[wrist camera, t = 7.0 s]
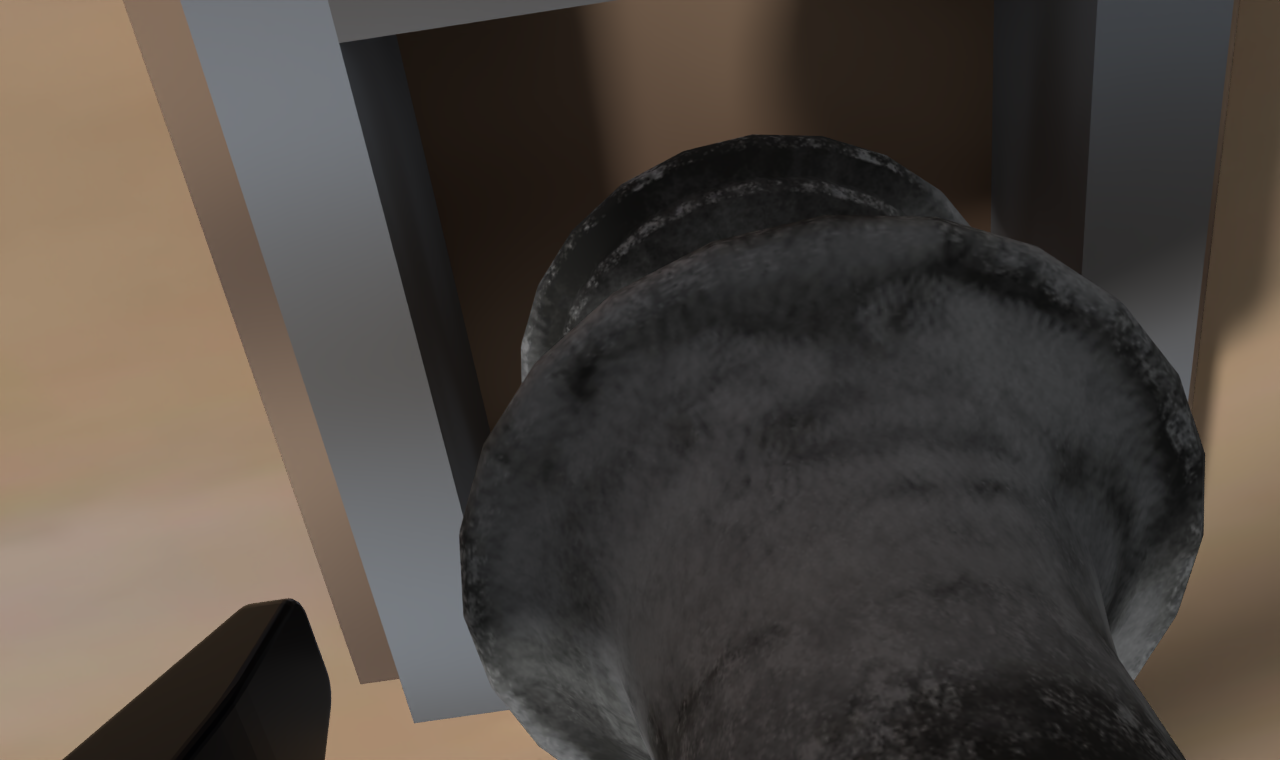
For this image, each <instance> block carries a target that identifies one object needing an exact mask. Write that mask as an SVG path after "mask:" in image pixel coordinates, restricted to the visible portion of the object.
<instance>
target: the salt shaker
mask: <svg viewBox="0 0 1280 760" xmlns="http://www.w3.org/2000/svg"><path fill="white" fill-rule="evenodd" d="M521 377H522V384H521V386H520V387H519V389H518V390H517V392H516V394H515V395H514V397H513V398H512V400H511V401H510V403H509V405H508V406H507V408H506V409H505V411H504V412H503V414H502V416H501V417H500V419H499V420H498V422H497V423H496V425H495V427H494V428H493V430H492V431H491V433H490V434H489V436H488V438H487V439H486V441H485V442H484V444H483V447H482V451H481V455H480V458H479V462H478V466H477V469H476V473H475V477H474V480H473V484H472V487H471V491H470V495H469V498H468V502H467V506H466V509H465V513H464V517H463V520H462V524H461V528H460V533H459V544H460V563H461V582H462V601H463V617H464V619H465V622H466V624H467V627H468V629H469V632H470V634H471V637H472V639H473V642H474V644H475V647H476V650H477V652H478V655H479V657H480V660H481V662H482V665H483V667H484V670H485V672H486V675H487V677H488V680H489V683H490V685H491V687H492V689H493V690H494V691H495V692H496V694H497V695H498V696H499V697H500V699H501V700H502V701H503V702H504V704H505V705H506V706H507V707H508V708H509V710H510V711H511V712H512V713H513V715H514V716H515V717H516V718H517V720H518V721H519V722H520V723H521V725H522V726H523V727H524V728H525V730H526V731H527V732H528V733H529V735H530V736H531V737H532V738H533V739H534V741H535V742H536V743H537V744H538V746H539V747H541V748H542V749H544V750H545V751H546V752H548V753H549V754H551V755H552V756H553V757H555V758H556V759H558V760H1186V759H1185V758H1184V756H1183V755H1182V753H1181V752H1180V750H1179V749H1178V747H1177V746H1176V744H1175V743H1174V741H1173V740H1172V738H1171V737H1170V735H1169V734H1168V732H1167V731H1166V729H1165V727H1164V726H1163V724H1162V723H1161V721H1160V720H1159V718H1158V717H1157V715H1156V714H1155V712H1154V711H1153V709H1152V708H1151V706H1150V705H1149V703H1148V702H1147V700H1146V699H1145V697H1144V696H1143V694H1142V693H1141V691H1140V690H1139V688H1138V687H1137V685H1136V684H1135V682H1134V679H1135V678H1136V676H1137V675H1138V673H1139V672H1140V670H1141V669H1142V667H1143V666H1144V664H1145V663H1146V661H1147V660H1148V658H1149V657H1150V655H1151V654H1152V652H1153V651H1154V649H1155V648H1156V646H1157V644H1158V643H1159V641H1160V640H1161V638H1162V637H1163V635H1164V634H1165V632H1166V631H1167V629H1168V628H1169V626H1170V625H1171V623H1172V622H1173V620H1174V619H1175V617H1176V615H1177V613H1178V610H1179V607H1180V604H1181V601H1182V598H1183V595H1184V592H1185V589H1186V586H1187V583H1188V580H1189V577H1190V574H1191V571H1192V568H1193V565H1194V562H1195V559H1196V556H1197V553H1198V550H1199V547H1200V544H1201V541H1202V538H1203V532H1204V477H1205V452H1204V449H1203V446H1202V443H1201V440H1200V437H1199V434H1198V431H1197V428H1196V425H1195V422H1194V419H1193V416H1192V413H1191V410H1190V407H1189V404H1188V401H1187V398H1186V395H1185V391H1184V388H1183V385H1182V382H1181V379H1180V376H1179V374H1178V373H1177V372H1176V370H1175V369H1174V368H1173V366H1172V365H1171V364H1170V363H1169V361H1168V360H1167V359H1166V357H1165V356H1164V355H1163V354H1162V352H1161V351H1160V350H1159V348H1158V347H1157V346H1156V345H1155V343H1154V342H1153V341H1152V339H1151V338H1150V337H1149V336H1148V334H1147V333H1146V332H1145V330H1144V329H1143V328H1142V327H1141V325H1140V324H1139V323H1138V321H1137V320H1136V319H1135V318H1134V316H1133V315H1132V314H1131V312H1130V311H1129V310H1128V309H1127V307H1126V306H1125V305H1124V304H1123V303H1122V302H1121V301H1119V300H1118V299H1117V298H1115V297H1114V296H1112V295H1111V294H1109V293H1108V292H1106V291H1105V290H1103V289H1102V288H1100V287H1099V286H1097V285H1095V284H1094V283H1092V282H1091V281H1089V280H1088V279H1086V278H1085V277H1083V276H1082V275H1080V274H1079V273H1077V272H1076V271H1074V270H1073V269H1071V268H1070V267H1068V266H1067V265H1065V264H1064V263H1062V262H1060V261H1059V260H1057V259H1056V258H1054V257H1053V256H1051V255H1050V254H1048V253H1047V252H1045V251H1044V250H1042V249H1041V248H1039V247H1038V246H1034V245H1031V244H1028V243H1024V242H1021V241H1017V240H1014V239H1011V238H1007V237H1004V236H1000V235H997V234H993V233H990V232H987V231H983V230H980V229H976V228H973V227H971V226H970V225H969V224H968V223H967V221H966V220H965V219H964V218H963V217H962V215H961V214H960V213H959V212H958V210H957V209H956V208H955V207H954V206H953V204H952V203H951V202H950V201H949V200H948V198H947V197H946V196H945V195H944V194H943V193H942V192H941V191H940V190H939V189H937V188H936V187H934V186H933V185H931V184H930V183H928V182H927V181H925V180H923V179H922V178H920V177H919V176H917V175H916V174H914V173H913V172H911V171H910V170H908V169H907V168H905V167H904V166H902V165H901V164H899V163H898V162H896V161H894V160H893V159H891V158H890V157H888V156H887V155H884V154H880V153H877V152H874V151H871V150H867V149H864V148H861V147H857V146H854V145H851V144H847V143H844V142H841V141H837V140H834V139H831V138H827V137H824V136H804V135H758V134H752V135H748V136H743V137H739V138H735V139H731V140H727V141H723V142H719V143H714V144H710V145H706V146H702V147H698V148H694V149H690V150H686V151H682V152H681V153H679V154H677V155H675V156H673V157H671V158H669V159H668V160H666V161H664V162H662V163H660V164H658V165H656V166H654V167H653V168H651V169H649V170H647V171H645V172H643V173H641V174H640V175H638V176H636V177H634V178H632V179H630V180H628V181H627V182H625V183H623V184H621V185H620V186H619V187H618V188H617V189H616V190H615V191H614V192H613V193H611V194H610V195H609V196H608V197H607V198H606V199H605V200H604V201H603V202H602V203H601V204H600V205H599V206H598V207H596V208H595V209H594V210H593V211H592V212H591V213H590V214H589V215H588V216H587V217H586V218H585V219H584V220H583V221H581V222H580V223H579V224H578V225H577V226H576V227H575V228H574V229H573V230H572V231H571V233H570V234H569V236H568V237H567V239H566V241H565V242H564V244H563V246H562V247H561V249H560V250H559V252H558V254H557V255H556V257H555V259H554V260H553V262H552V263H551V265H550V267H549V268H548V270H547V272H546V273H545V275H544V276H543V278H542V280H541V281H540V283H539V285H538V287H537V291H536V294H535V298H534V301H533V305H532V308H531V312H530V316H529V319H528V323H527V326H526V330H525V334H524V337H523V341H522V345H521Z"/></svg>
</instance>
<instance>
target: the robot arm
mask: <svg viewBox="0 0 1280 760" xmlns="http://www.w3.org/2000/svg"><path fill="white" fill-rule="evenodd" d="M330 710H331V687H330V681H329V676H328V673H327V670H326V667H325V664H324V662H323V659H322V656H321V653H320V651H319V648H318V645H317V642H316V640H315V637H314V634H313V631H312V629H311V626H310V623H309V620H308V618H307V615H306V613H305V610H304V609H303V607H302V606H301V604H300V603H299V602H297V601H295V600H293V599H289V598H288V599H281V600H274V601H267V602H260V603H253V604H248V605H246V606H244V607H242V608H241V609H239V610H238V611H237V612H236V613H235V614H233V615H232V616H231V617H230V618H229V619H227V620H226V621H225V622H224V623H223V624H222V625H220V626H219V627H218V628H217V629H216V630H215V631H213V632H212V633H211V634H210V635H209V636H207V637H206V638H205V639H204V640H203V641H202V642H200V643H199V644H198V645H197V646H196V647H195V648H193V649H192V650H191V651H190V652H189V653H187V654H186V655H185V656H184V657H183V658H182V659H180V660H179V661H178V662H177V663H176V664H174V665H173V666H172V667H171V668H170V669H169V670H167V671H166V672H165V673H164V674H163V675H162V676H160V677H159V678H158V679H157V680H156V681H154V682H153V683H152V684H151V685H150V686H149V687H147V688H146V689H145V690H144V691H143V692H142V693H140V694H139V695H138V696H137V697H136V698H134V699H133V700H132V701H131V702H130V703H129V704H127V705H126V706H125V707H124V708H123V709H122V710H120V711H119V712H118V713H117V714H116V715H114V716H113V717H112V718H111V719H110V720H109V721H107V722H106V723H105V724H104V725H103V726H102V727H100V728H99V729H98V730H97V731H96V732H94V733H93V734H92V735H91V736H90V737H89V738H87V739H86V740H85V741H84V742H83V743H81V744H80V745H79V746H78V747H77V748H76V749H74V750H73V751H72V752H71V753H70V754H69V755H67V756H66V757H65V758H64V759H63V760H325V754H326V745H327V736H328V727H329V718H330Z"/></svg>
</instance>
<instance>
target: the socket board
mask: <svg viewBox="0 0 1280 760" xmlns="http://www.w3.org/2000/svg"><path fill="white" fill-rule="evenodd" d="M123 2H124V5H125V8H126V11H127V14H128V16H129V19H130V22H131V25H132V28H133V31H134V34H135V37H136V39H137V42H138V45H139V48H140V51H141V54H142V57H143V60H144V63H145V65H146V68H147V71H148V74H149V77H150V80H151V83H152V86H153V88H154V91H155V94H156V97H157V100H158V103H159V106H160V109H161V111H162V114H163V117H164V120H165V123H166V126H167V129H168V132H169V134H170V137H171V140H172V143H173V146H174V149H175V152H176V155H177V157H178V160H179V163H180V166H181V169H182V172H183V175H184V178H185V180H186V183H187V186H188V189H189V192H190V195H191V198H192V201H193V203H194V206H195V209H196V212H197V215H198V218H199V221H200V224H201V227H202V229H203V232H204V235H205V238H206V241H207V244H208V247H209V250H210V252H211V255H212V258H213V261H214V264H215V267H216V270H217V273H218V275H219V278H220V281H221V284H222V287H223V290H224V293H225V296H226V298H227V301H228V304H229V307H230V310H231V313H232V316H233V319H234V321H235V324H236V327H237V330H238V333H239V336H240V339H241V342H242V344H243V347H244V350H245V353H246V356H247V359H248V362H249V365H250V367H251V370H252V373H253V376H254V379H255V382H256V385H257V388H258V390H259V393H260V396H261V399H262V402H263V405H264V408H265V411H266V414H267V416H268V419H269V422H270V425H271V428H272V431H273V434H274V437H275V439H276V442H277V445H278V448H279V451H280V454H281V457H282V460H283V462H284V465H285V468H286V471H287V474H288V477H289V480H290V483H291V485H292V488H293V491H294V494H295V497H296V500H297V503H298V506H299V508H300V511H301V514H302V517H303V520H304V523H305V526H306V529H307V531H308V534H309V537H310V540H311V543H312V546H313V549H314V552H315V554H316V557H317V560H318V563H319V566H320V569H321V572H322V575H323V578H324V580H325V583H326V586H327V589H328V592H329V595H330V598H331V601H332V603H333V606H334V609H335V612H336V615H337V618H338V621H339V624H340V626H341V629H342V632H343V635H344V638H345V641H346V644H347V647H348V649H349V652H350V655H351V658H352V661H353V664H354V667H355V670H356V672H357V675H358V678H359V681H360V684H365V683H373V682H380V681H387V680H394V679H400V681H401V684H402V687H403V690H404V693H405V696H406V699H407V703H408V706H409V709H410V712H411V715H412V718H413V721H414V723H419V722H426V721H433V720H440V719H447V718H454V717H461V716H468V715H476V714H483V713H490V712H497V711H504V710H509V708H508V707H507V706H506V705H505V704H504V702H503V701H502V700H501V699H500V697H499V696H498V695H497V694H496V692H495V691H494V690H493V689H492V687H491V685H490V683H489V680H488V677H487V675H486V672H485V670H484V667H483V665H482V662H481V660H480V657H479V655H478V652H477V650H476V647H475V644H474V642H473V639H472V637H471V634H470V632H469V629H468V627H467V624H466V622H465V619H464V617H463V601H462V582H461V563H460V544H459V533H460V528H461V524H462V520H463V517H464V513H465V509H466V506H467V502H468V498H469V495H470V491H471V487H472V484H473V480H474V477H475V473H476V469H477V466H478V462H479V458H480V455H481V451H482V447H483V444H484V442H485V441H486V439H487V438H488V436H489V434H490V433H491V431H492V430H493V428H494V427H495V425H496V423H497V422H498V420H499V419H500V417H501V416H502V414H503V412H504V411H505V409H506V408H507V406H508V405H509V403H510V401H511V400H512V398H513V397H514V395H515V394H516V392H517V390H518V389H519V387H520V386H521V384H522V377H521V345H522V341H523V337H524V334H525V330H526V326H527V323H528V319H529V316H530V312H531V308H532V305H533V301H534V298H535V294H536V291H537V287H538V285H539V283H540V281H541V280H542V278H543V276H544V275H545V273H546V272H547V270H548V268H549V267H550V265H551V263H552V262H553V260H554V259H555V257H556V255H557V254H558V252H559V250H560V249H561V247H562V246H563V244H564V242H565V241H566V239H567V237H568V236H569V234H570V233H571V231H572V230H573V229H574V228H575V227H576V226H577V225H578V224H579V223H580V222H581V221H583V220H584V219H585V218H586V217H587V216H588V215H589V214H590V213H591V212H592V211H593V210H594V209H595V208H596V207H598V206H599V205H600V204H601V203H602V202H603V201H604V200H605V199H606V198H607V197H608V196H609V195H610V194H611V193H613V192H614V191H615V190H616V189H617V188H618V187H619V186H620V185H621V184H623V183H625V182H627V181H628V180H630V179H632V178H634V177H636V176H638V175H640V174H641V173H643V172H645V171H647V170H649V169H651V168H653V167H654V166H656V165H658V164H660V163H662V162H664V161H666V160H668V159H669V158H671V157H673V156H675V155H677V154H679V153H681V152H682V151H686V150H690V149H694V148H698V147H702V146H706V145H710V144H714V143H719V142H723V141H727V140H731V139H735V138H739V137H743V136H748V135H752V134H758V135H804V136H824V137H827V138H831V139H834V140H837V141H841V142H844V143H847V144H851V145H854V146H857V147H861V148H864V149H867V150H871V151H874V152H877V153H880V154H884V155H887V156H888V157H890V158H891V159H893V160H894V161H896V162H898V163H899V164H901V165H902V166H904V167H905V168H907V169H908V170H910V171H911V172H913V173H914V174H916V175H917V176H919V177H920V178H922V179H923V180H925V181H927V182H928V183H930V184H931V185H933V186H934V187H936V188H937V189H939V190H940V191H941V192H942V193H943V194H944V195H945V196H946V197H947V198H948V200H949V201H950V202H951V203H952V204H953V206H954V207H955V208H956V209H957V210H958V212H959V213H960V214H961V215H962V217H963V218H964V219H965V220H966V221H967V223H968V224H969V225H970V226H971V227H973V228H976V229H980V230H983V231H987V232H990V233H993V234H997V235H1000V236H1004V237H1007V238H1011V239H1014V240H1017V241H1021V242H1024V243H1028V244H1031V245H1034V246H1038V247H1039V248H1041V249H1042V250H1044V251H1045V252H1047V253H1048V254H1050V255H1051V256H1053V257H1054V258H1056V259H1057V260H1059V261H1060V262H1062V263H1064V264H1065V265H1067V266H1068V267H1070V268H1071V269H1073V270H1074V271H1076V272H1077V273H1079V274H1080V275H1082V276H1083V277H1085V278H1086V279H1088V280H1089V281H1091V282H1092V283H1094V284H1095V285H1097V286H1099V287H1100V288H1102V289H1103V290H1105V291H1106V292H1108V293H1109V294H1111V295H1112V296H1114V297H1115V298H1117V299H1118V300H1119V301H1121V302H1122V303H1123V304H1124V305H1125V306H1126V307H1127V309H1128V310H1129V311H1130V312H1131V314H1132V315H1133V316H1134V318H1135V319H1136V320H1137V321H1138V323H1139V324H1140V325H1141V327H1142V328H1143V329H1144V330H1145V332H1146V333H1147V334H1148V336H1149V337H1150V338H1151V339H1152V341H1153V342H1154V343H1155V345H1156V346H1157V347H1158V348H1159V350H1160V351H1161V352H1162V354H1163V355H1164V356H1165V357H1166V359H1167V360H1168V361H1169V363H1170V364H1171V365H1172V366H1173V368H1174V369H1175V370H1176V372H1177V373H1178V374H1179V376H1180V379H1181V382H1182V385H1183V388H1184V391H1185V395H1186V398H1187V401H1188V404H1189V407H1190V410H1191V413H1192V406H1193V398H1194V389H1195V380H1196V372H1197V363H1198V355H1199V346H1200V338H1201V329H1202V320H1203V312H1204V303H1205V295H1206V286H1207V278H1208V269H1209V260H1210V252H1211V243H1212V235H1213V226H1214V218H1215V209H1216V200H1217V192H1218V183H1219V175H1220V166H1221V158H1222V149H1223V140H1224V132H1225V123H1226V115H1227V106H1228V98H1229V89H1230V80H1231V72H1232V63H1233V55H1234V46H1235V37H1236V29H1237V20H1238V12H1239V3H1240V0H123Z"/></svg>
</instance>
